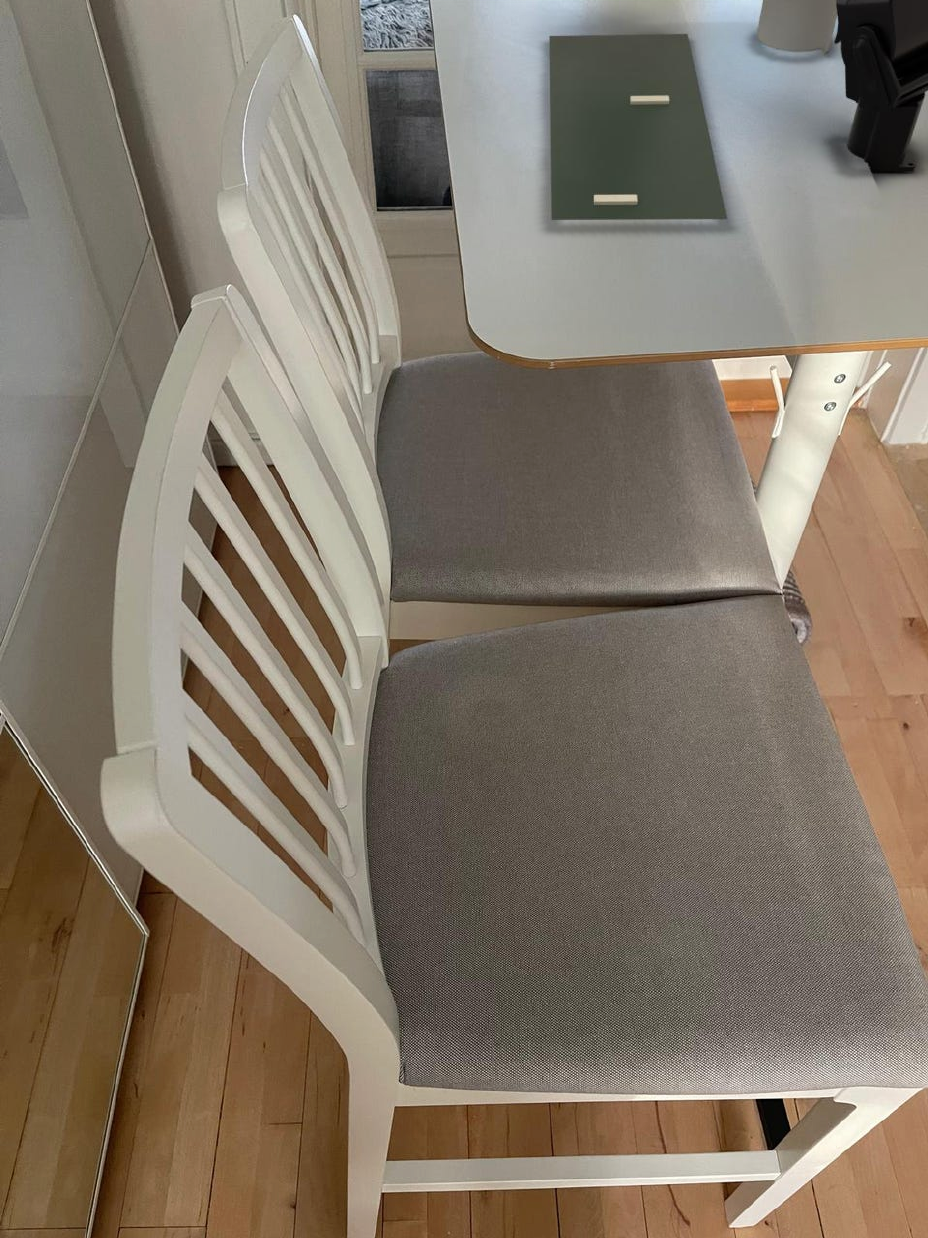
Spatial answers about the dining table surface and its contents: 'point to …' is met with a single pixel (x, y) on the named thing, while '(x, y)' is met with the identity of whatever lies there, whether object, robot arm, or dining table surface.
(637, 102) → the chalk mark
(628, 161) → the chalkboard
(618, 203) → the white rectangular bar
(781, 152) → the dining table surface
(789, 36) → the cup
